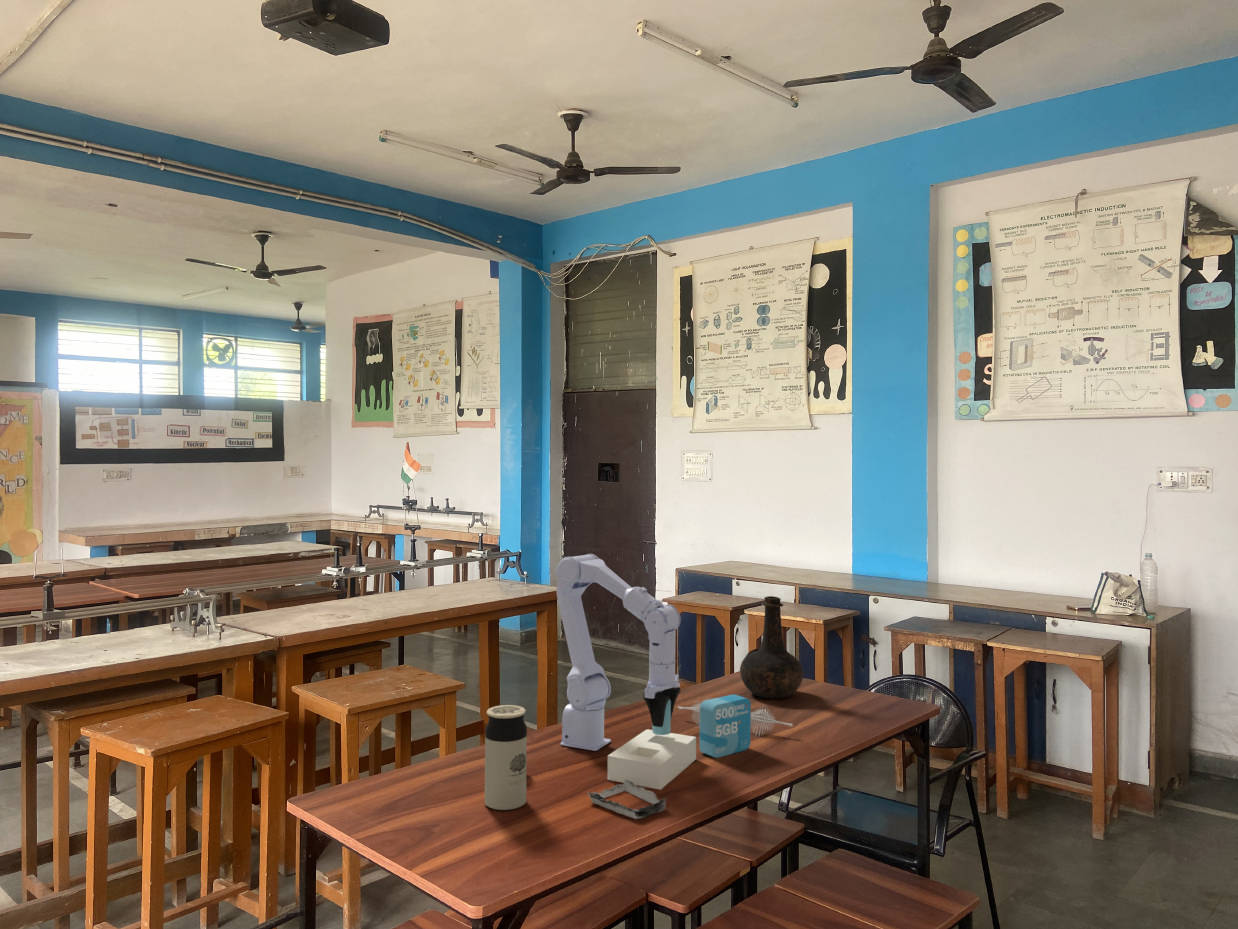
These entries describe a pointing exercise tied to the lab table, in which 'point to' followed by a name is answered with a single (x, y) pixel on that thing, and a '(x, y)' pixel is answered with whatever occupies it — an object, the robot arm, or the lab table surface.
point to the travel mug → (505, 757)
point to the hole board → (652, 759)
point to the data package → (725, 725)
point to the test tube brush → (751, 717)
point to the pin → (667, 722)
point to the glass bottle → (771, 659)
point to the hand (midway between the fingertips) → (661, 723)
